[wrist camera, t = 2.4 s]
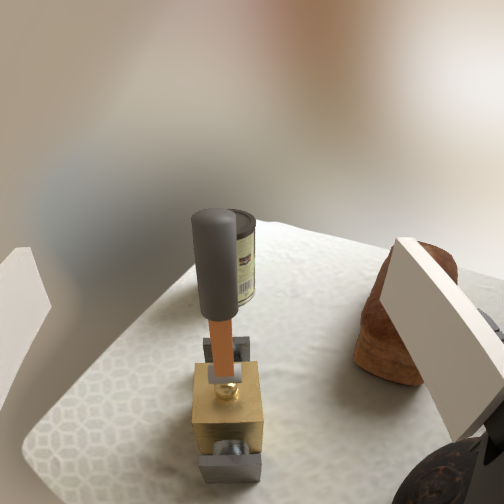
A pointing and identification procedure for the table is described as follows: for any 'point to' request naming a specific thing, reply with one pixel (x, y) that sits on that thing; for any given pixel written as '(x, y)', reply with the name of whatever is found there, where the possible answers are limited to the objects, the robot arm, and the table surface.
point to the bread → (391, 329)
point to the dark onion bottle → (440, 476)
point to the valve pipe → (228, 419)
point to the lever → (218, 286)
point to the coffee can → (245, 255)
